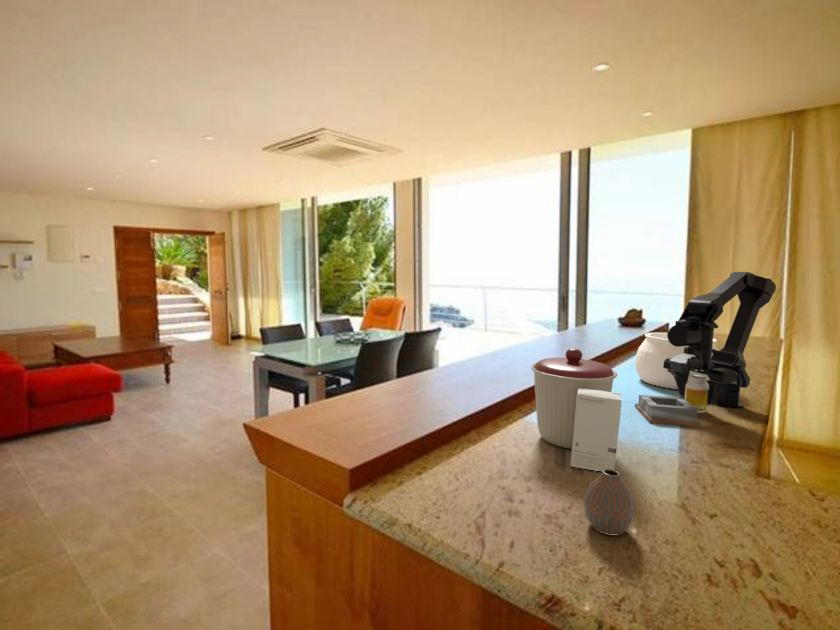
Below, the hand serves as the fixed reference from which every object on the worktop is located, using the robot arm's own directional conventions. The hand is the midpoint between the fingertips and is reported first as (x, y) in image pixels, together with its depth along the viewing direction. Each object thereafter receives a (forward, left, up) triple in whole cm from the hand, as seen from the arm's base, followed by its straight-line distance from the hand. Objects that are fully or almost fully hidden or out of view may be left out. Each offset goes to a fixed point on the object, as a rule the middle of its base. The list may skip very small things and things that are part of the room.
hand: (695, 399), depth 130 cm
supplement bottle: (0, 0, -3) cm, 3 cm away
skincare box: (+46, -35, -3) cm, 58 cm away
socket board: (+8, -10, -3) cm, 13 cm away
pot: (-33, +6, -3) cm, 34 cm away
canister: (+33, -38, -3) cm, 50 cm away
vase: (+69, -37, -3) cm, 78 cm away
